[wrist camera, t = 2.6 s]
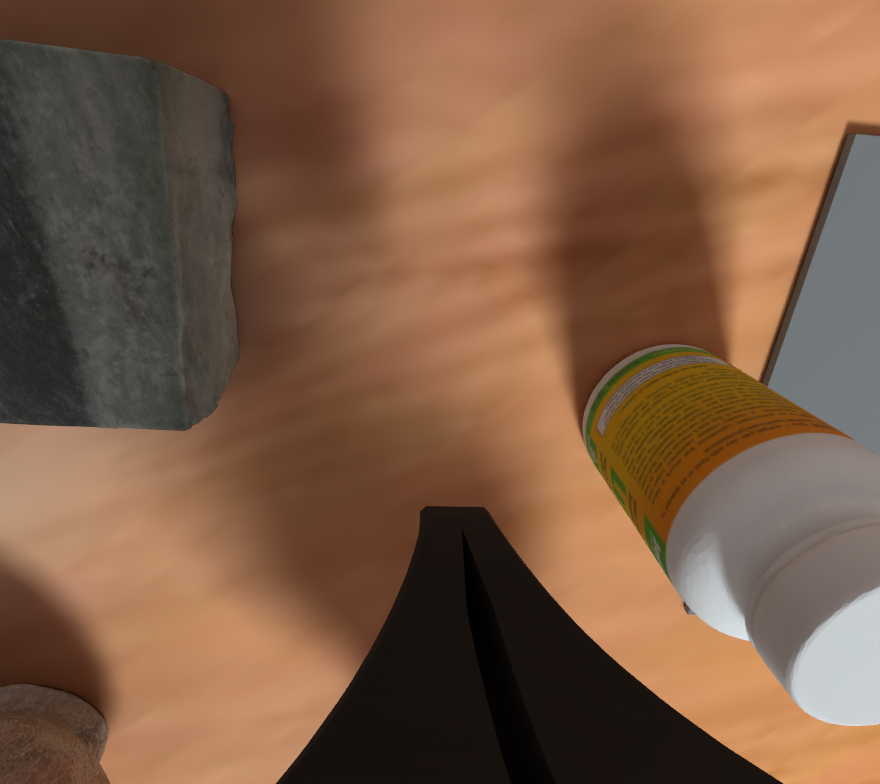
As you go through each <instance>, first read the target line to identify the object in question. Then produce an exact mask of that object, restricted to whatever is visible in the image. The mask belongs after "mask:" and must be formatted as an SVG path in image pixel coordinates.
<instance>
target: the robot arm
mask: <svg viewBox="0 0 880 784" xmlns="http://www.w3.org/2000/svg"><path fill="white" fill-rule="evenodd" d="M276 784H783V783H782V782H780V781H778V780H777V779H775V778H774V777H772V776H771V775H769V774H768V773H766V772H764V771H763V770H761V769H760V768H758V767H757V766H755V765H754V764H752V763H750V762H749V761H747V760H746V759H744V758H743V757H741V756H740V755H738V754H736V753H735V752H733V751H732V750H730V749H729V748H727V747H726V746H724V745H723V744H721V743H720V742H719V741H717V740H716V739H714V738H713V737H712V736H710V735H709V734H707V733H706V732H705V731H703V730H702V729H701V728H699V727H698V726H696V725H695V724H694V723H692V722H691V721H689V720H688V719H687V718H685V717H684V716H683V715H681V714H680V713H679V712H677V711H676V710H675V709H673V708H672V707H671V706H669V705H668V704H667V703H666V702H664V701H663V700H662V699H660V698H659V697H658V696H657V695H655V694H654V693H653V692H652V691H651V690H649V689H648V688H647V687H646V686H645V685H643V684H642V683H641V682H640V681H638V680H637V679H636V678H635V677H634V676H632V675H631V674H630V673H629V672H628V671H626V670H625V669H624V668H623V667H622V666H620V665H619V664H618V663H617V662H616V661H615V660H614V659H613V658H611V657H610V656H609V655H608V654H607V653H606V652H605V651H604V650H603V649H602V648H601V647H600V646H599V645H598V644H596V643H595V642H594V641H593V640H592V639H591V638H590V637H589V636H588V635H587V634H586V633H585V632H584V631H583V630H582V629H581V628H580V627H579V626H578V625H577V624H576V623H575V622H574V621H573V619H572V618H571V617H570V616H569V615H568V614H567V613H566V612H565V611H564V610H563V609H562V608H561V606H560V605H559V604H558V603H557V602H556V601H555V600H554V599H553V597H552V596H551V595H550V594H549V593H548V592H547V590H546V589H545V588H544V587H543V586H542V584H541V583H540V582H539V581H538V580H537V578H536V577H535V576H534V575H533V573H532V572H531V571H530V569H529V568H528V567H527V566H526V564H525V563H524V562H523V561H522V559H521V558H520V557H519V555H518V554H517V553H516V551H515V550H514V549H513V547H512V546H511V544H510V543H509V542H508V540H507V539H506V537H505V536H504V535H503V533H502V532H501V530H500V529H499V527H498V526H497V524H496V523H495V521H494V520H493V518H492V517H491V515H490V514H489V512H488V511H487V510H486V509H485V508H484V507H439V506H426V507H425V508H424V509H422V510H421V512H420V527H419V535H418V539H417V543H416V547H415V550H414V553H413V556H412V559H411V562H410V565H409V568H408V571H407V574H406V577H405V579H404V582H403V584H402V586H401V588H400V591H399V593H398V595H397V598H396V600H395V602H394V605H393V607H392V609H391V611H390V613H389V615H388V617H387V619H386V621H385V623H384V625H383V627H382V629H381V631H380V633H379V635H378V637H377V639H376V640H375V642H374V644H373V646H372V648H371V650H370V651H369V653H368V655H367V656H366V658H365V660H364V661H363V663H362V665H361V666H360V668H359V670H358V671H357V673H356V675H355V676H354V678H353V680H352V681H351V683H350V684H349V686H348V687H347V689H346V691H345V692H344V694H343V695H342V697H341V698H340V700H339V701H338V702H337V704H336V705H335V707H334V708H333V709H332V711H331V712H330V714H329V715H328V716H327V718H326V719H325V721H324V722H323V723H322V725H321V726H320V728H319V729H318V730H317V732H316V733H315V735H314V736H313V737H312V739H311V740H310V741H309V743H308V744H307V746H306V747H305V748H304V749H303V751H302V752H301V753H300V755H299V756H298V757H297V759H296V760H295V761H294V762H293V763H292V765H291V766H290V767H289V768H288V770H287V771H286V772H285V773H284V774H283V776H282V777H281V778H280V779H279V780H278V782H277V783H276Z"/></svg>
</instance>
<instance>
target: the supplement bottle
mask: <svg viewBox="0 0 880 784" xmlns="http://www.w3.org/2000/svg"><path fill="white" fill-rule="evenodd" d="M582 430H583V438H584V443H585V446H586V449H587V452H588V454H589V456H590V458H591V459H592V461H593V463H594V465H595V466H596V468H597V469H598V471H599V472H600V474H601V475H602V477H603V478H604V480H605V481H606V483H607V484H608V486H609V487H610V489H611V491H612V492H613V494H614V495H615V497H616V498H617V500H618V501H619V503H620V504H621V506H622V507H623V509H624V510H625V512H626V513H627V515H628V516H629V518H630V519H631V521H632V522H633V524H634V526H635V527H636V529H637V530H638V532H639V533H640V535H641V536H642V538H643V540H644V541H645V543H646V544H647V546H648V547H649V549H650V550H651V552H652V553H653V555H654V557H655V558H656V560H657V561H658V563H659V564H660V566H661V567H662V569H663V570H664V572H665V574H666V575H667V577H668V578H669V580H670V581H671V583H672V585H673V586H674V588H675V589H676V590H677V592H678V593H679V595H680V596H681V598H682V599H683V600H684V602H685V603H686V604H687V606H688V607H689V608H690V609H691V610H692V611H693V612H694V613H695V614H696V615H697V616H698V617H699V618H700V619H701V620H703V621H704V622H705V623H707V624H708V625H710V626H711V627H713V628H715V629H716V630H718V631H720V632H722V633H725V634H727V635H730V636H732V637H736V638H739V639H743V640H748V641H750V642H751V643H752V645H753V646H754V648H755V649H756V650H757V652H758V654H759V655H760V656H761V658H762V659H763V661H764V662H765V664H766V665H767V666H768V668H769V669H770V670H771V672H772V673H773V674H774V676H775V677H776V678H777V680H778V681H779V682H780V683H781V685H782V686H783V687H784V689H785V690H786V691H787V692H788V694H789V695H790V696H791V698H792V699H793V700H794V701H795V703H796V704H797V705H798V706H799V707H800V708H802V709H803V710H804V711H805V712H806V713H808V714H809V715H811V716H813V717H815V718H817V719H819V720H822V721H825V722H828V723H832V724H838V725H848V726H863V725H875V724H880V456H879V455H877V454H876V453H874V452H873V451H871V450H870V449H868V448H867V447H865V446H864V445H862V444H860V443H859V442H857V441H856V440H854V439H853V438H851V437H850V436H848V435H846V434H844V433H843V432H841V431H839V430H838V429H836V428H834V427H833V426H831V425H829V424H828V423H826V422H824V421H823V420H821V419H819V418H818V417H816V416H814V415H813V414H811V413H809V412H808V411H806V410H805V409H803V408H801V407H800V406H798V405H796V404H795V403H793V402H791V401H790V400H788V399H786V398H785V397H783V396H781V395H780V394H778V393H777V392H775V391H773V390H772V389H770V388H768V387H767V386H765V385H764V384H762V383H760V382H759V381H757V380H755V379H754V378H752V377H750V376H749V375H747V374H746V373H744V372H742V371H741V370H739V369H737V368H736V367H734V366H733V365H731V364H729V363H728V362H726V361H724V360H723V359H721V358H719V357H717V356H715V355H714V354H712V353H710V352H708V351H706V350H703V349H701V348H697V347H694V346H689V345H681V344H666V345H659V346H653V347H650V348H646V349H643V350H641V351H638V352H636V353H634V354H632V355H630V356H628V357H627V358H625V359H624V360H622V361H621V362H619V363H618V364H617V365H615V366H614V367H613V368H612V369H611V370H610V371H608V372H607V374H606V375H605V376H604V377H603V378H602V379H601V380H600V382H599V383H598V384H597V386H596V387H595V389H594V390H593V392H592V394H591V396H590V398H589V400H588V403H587V405H586V408H585V412H584V416H583V427H582Z"/></svg>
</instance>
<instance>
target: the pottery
mask: <svg viewBox="0 0 880 784" xmlns="http://www.w3.org/2000/svg"><path fill="white" fill-rule="evenodd" d="M107 739H108V729H107V726H106V722H105V720H104V719H103V717H102V716H101V715H100V713H99V712H98V711H97V710H96V709H95V708H94V707H92V706H91V705H90V704H89V703H87V702H85V701H84V700H82V699H81V698H79V697H77V696H75V695H73V694H71V693H68V692H64V691H61V690H57V689H52V688H48V687H44V686H38V685H32V684H15V685H8V686H4V687H3V686H2V687H0V784H110V782H109V780H108V778H107V776H106V774H105V772H104V770H103V769H102V767H101V765H100V763H99V761H100V760H101V758H102V755H103V752H104V750H105V746H106V743H107Z"/></svg>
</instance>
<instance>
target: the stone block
mask: <svg viewBox="0 0 880 784" xmlns="http://www.w3.org/2000/svg"><path fill="white" fill-rule="evenodd" d="M229 98H230V97H229V96H227V95H226V93H225V92H222V90H220V89H219V88H217V87H215V86H213V85H210V84H208V83H206V82H205V81H203V80H201V79H199V78H197V77H195V76H192V75H190V74H188V73H185V72H183V71H181V70H179V69H177V68H175V67H172V66H170V65H168V64H166V63H164V62H161V61H157V60H152V59H148V58H144V57H138V56H130V55H123V54H115V53H106V52H99V51H91V50H84V49H76V48H69V47H61V46H54V45H46V44H38V43H30V42H22V41H15V40H7V39H0V423H9V424H29V425H51V426H85V427H102V428H135V429H155V430H177V431H185V430H188V429H190V428H191V427H192V425H195V424H197V423H199V422H200V421H201V420H202V419H203V418H207V417H208V416H209V415H210V414H212V412H213V411H214V410H215V409H216V407H217V406H218V405H217V403H216V402H218V401H219V400H220V398H221V396H222V394H223V392H224V390H225V388H226V386H227V385H228V383H229V378H230V375H231V373H232V371H233V369H234V367H235V365H236V363H237V361H238V360H239V346H238V340H237V319H236V313H235V308H234V299H233V296H232V292H231V289H232V287H231V260H232V253H233V242H232V236H233V233H232V228H233V221H234V215H235V212H236V208H237V194H236V176H235V167H234V160H233V158H232V137H233V128H234V127H235V126H234V125H233V124H232V122H231V118H230V116H229V114H228V102H229Z"/></svg>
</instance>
